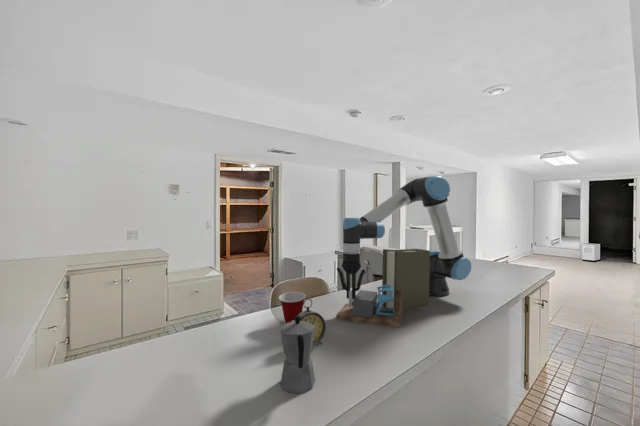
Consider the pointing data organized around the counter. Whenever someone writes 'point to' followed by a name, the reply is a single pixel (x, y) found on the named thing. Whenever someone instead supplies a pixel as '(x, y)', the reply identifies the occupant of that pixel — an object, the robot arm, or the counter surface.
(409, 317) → the counter surface
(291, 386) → the coffeepot
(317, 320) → the alarm clock
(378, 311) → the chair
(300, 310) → the plastic cup
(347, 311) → the wooden l-shaped stand
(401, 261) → the book
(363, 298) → the gray block
